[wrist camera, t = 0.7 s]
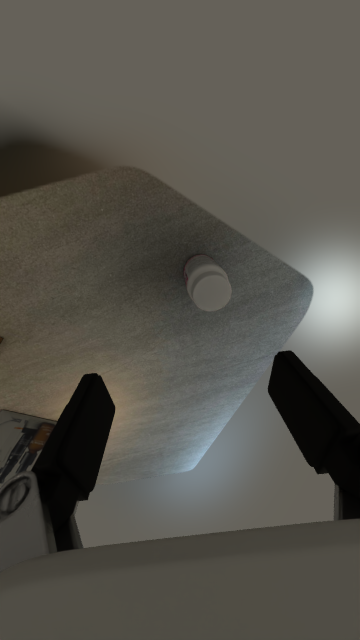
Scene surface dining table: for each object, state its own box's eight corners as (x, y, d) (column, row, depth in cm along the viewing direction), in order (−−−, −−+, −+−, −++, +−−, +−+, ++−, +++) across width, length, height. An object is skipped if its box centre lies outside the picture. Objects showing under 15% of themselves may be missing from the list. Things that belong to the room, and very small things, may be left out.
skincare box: (102, 429, 43) (71, 528, 30) (96, 440, 46) (65, 537, 32) (1, 407, 37) (-97, 519, 24) (-1, 421, 40) (-90, 530, 26)
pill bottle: (176, 267, 25) (179, 289, 18) (205, 246, 24) (222, 259, 16) (194, 293, 27) (204, 322, 20) (222, 275, 26) (243, 298, 18)
